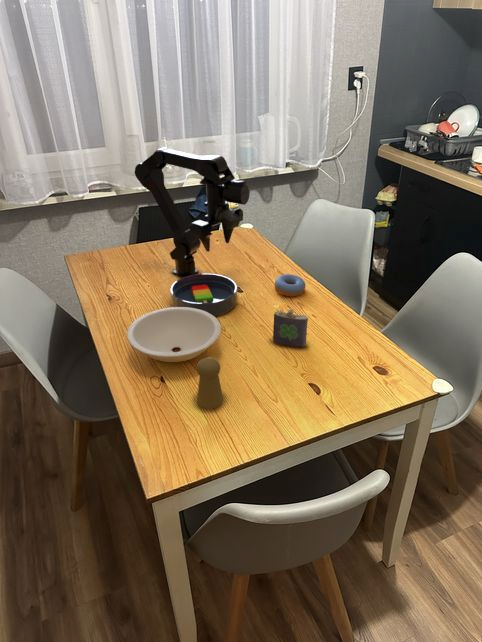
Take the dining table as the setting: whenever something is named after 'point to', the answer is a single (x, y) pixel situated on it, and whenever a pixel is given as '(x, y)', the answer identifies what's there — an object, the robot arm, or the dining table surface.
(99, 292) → the dining table surface
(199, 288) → the popsicle
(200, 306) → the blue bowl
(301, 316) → the flask
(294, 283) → the doughnut
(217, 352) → the dining table surface
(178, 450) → the dining table surface
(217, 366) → the brown game pawn
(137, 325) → the grey bowl
